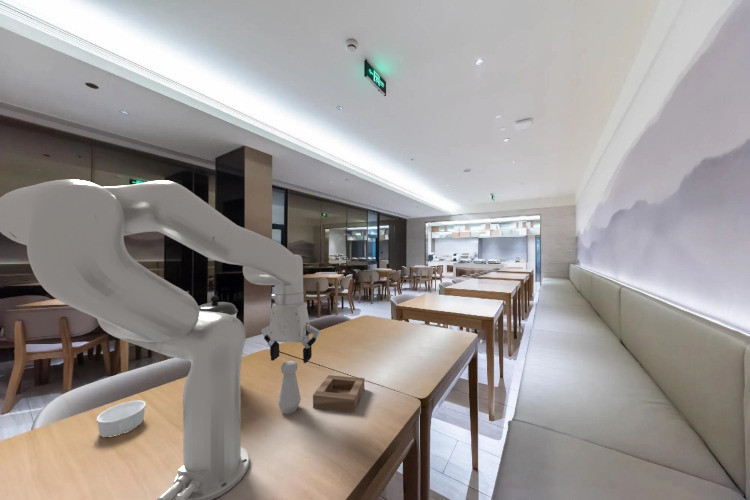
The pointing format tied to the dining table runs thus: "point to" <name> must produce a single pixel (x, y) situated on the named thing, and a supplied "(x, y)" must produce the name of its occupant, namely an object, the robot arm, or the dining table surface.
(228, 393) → the robot arm
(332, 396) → the socket block
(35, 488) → the dining table surface
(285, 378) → the salt shaker
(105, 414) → the ramekin
